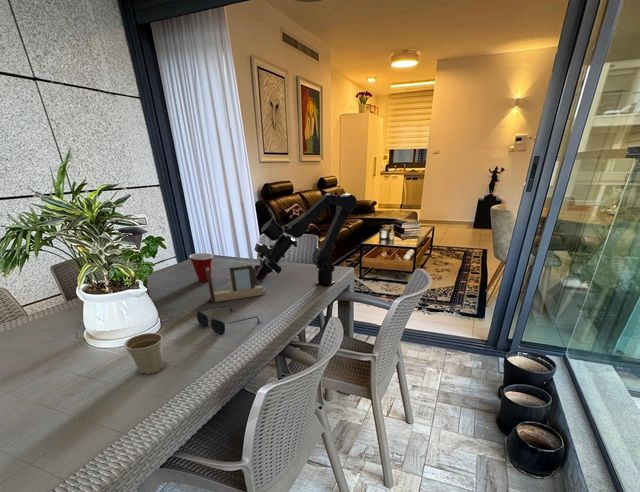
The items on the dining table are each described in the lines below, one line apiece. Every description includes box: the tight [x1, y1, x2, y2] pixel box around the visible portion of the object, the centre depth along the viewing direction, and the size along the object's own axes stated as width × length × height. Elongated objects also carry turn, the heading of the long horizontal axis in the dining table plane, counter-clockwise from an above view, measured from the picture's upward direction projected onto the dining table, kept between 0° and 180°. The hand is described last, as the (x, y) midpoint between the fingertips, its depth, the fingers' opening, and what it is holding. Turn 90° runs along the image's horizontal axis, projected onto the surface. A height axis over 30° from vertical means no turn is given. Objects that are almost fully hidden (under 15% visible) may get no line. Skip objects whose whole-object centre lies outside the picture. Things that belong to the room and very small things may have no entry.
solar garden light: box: [117, 226, 151, 298], centre depth 132 cm, size 12×12×30 cm
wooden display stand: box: [205, 267, 265, 303], centre depth 144 cm, size 21×5×13 cm, turn 111°
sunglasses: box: [196, 304, 260, 336], centre depth 122 cm, size 17×15×5 cm
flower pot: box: [123, 332, 164, 375], centre depth 95 cm, size 9×9×9 cm
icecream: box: [253, 264, 268, 281], centre depth 166 cm, size 7×7×15 cm
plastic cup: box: [188, 252, 214, 283], centre depth 166 cm, size 11×11×12 cm
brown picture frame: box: [229, 264, 258, 291], centre depth 145 cm, size 10×2×11 cm, turn 111°
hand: (256, 277), depth 146 cm, fingers closed, pressing on brown picture frame
